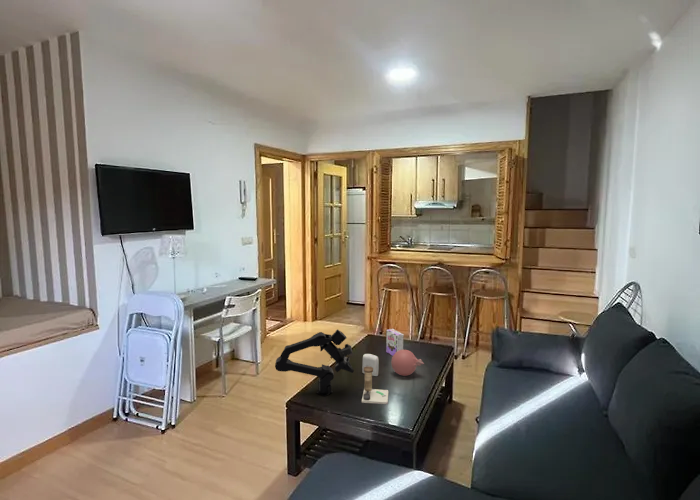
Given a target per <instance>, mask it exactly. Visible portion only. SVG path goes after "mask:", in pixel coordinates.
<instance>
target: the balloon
mask: <svg viewBox="0 0 700 500" xmlns="http://www.w3.org/2000/svg"><path fill="white" fill-rule="evenodd" d="M390 361H391V363H390V364H391V368H392V370H393V372H394V373H396V374H397V375H399V376H403V377H407V376H410V375H412V374H413V373H414V372H415V371H416V369H417V367H418V366H419V367H421V366H422V365H425V363H424V362H423V360H422V359H421V358H419V359H418V358H417V357H416V355H414V352H412V351H410V350H408V349H403V350H399V351H397V352H396V353H395V354H394V355H393V356H392V357H391V360H390Z"/></svg>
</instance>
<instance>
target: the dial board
mask: <svg viewBox="0 0 700 500" xmlns="http://www.w3.org/2000/svg"><path fill="white" fill-rule="evenodd" d="M366 393H367V391H365V390H364V389H363V393H362V398H361V403H362V404H364V403H365V404H377V405H378V404H379V405H388V404H389V403H388V402H389V390H388V389H376V388H372V391H369V393H368V394H370V399H369V400H365V399H363V395H364V394H366Z"/></svg>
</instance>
